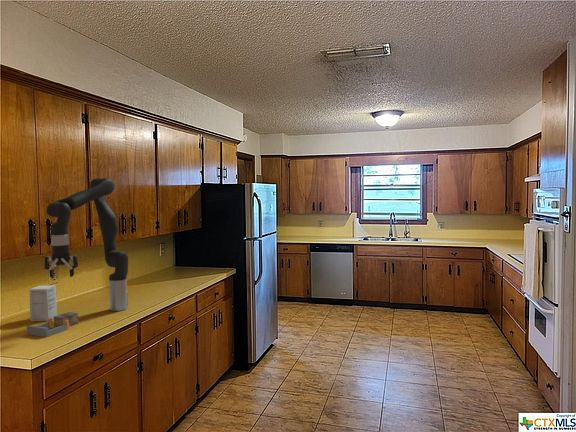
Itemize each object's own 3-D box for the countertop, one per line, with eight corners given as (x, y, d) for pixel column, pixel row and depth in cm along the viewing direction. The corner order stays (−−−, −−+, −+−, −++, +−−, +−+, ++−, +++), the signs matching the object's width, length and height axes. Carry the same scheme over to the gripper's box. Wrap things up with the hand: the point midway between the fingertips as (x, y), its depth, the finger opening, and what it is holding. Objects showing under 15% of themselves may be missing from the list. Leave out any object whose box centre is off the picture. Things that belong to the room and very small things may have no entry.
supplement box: (57, 316, 228) (56, 285, 228) (48, 321, 219) (47, 288, 218) (39, 316, 228) (38, 285, 227) (29, 321, 219) (28, 289, 218)
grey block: (68, 322, 217) (68, 312, 217) (78, 324, 215) (77, 313, 215) (53, 327, 208) (53, 316, 208) (63, 329, 206) (63, 317, 206)
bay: (49, 326, 210) (49, 317, 210) (69, 329, 206) (68, 320, 206) (27, 334, 198) (26, 325, 198) (46, 337, 194) (46, 327, 194)
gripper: (78, 242, 209) (80, 274, 210) (47, 243, 207) (49, 276, 208) (73, 244, 202) (75, 278, 203) (41, 245, 200) (43, 279, 201)
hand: (62, 277), depth 206 cm, fingers open, 8 cm apart
